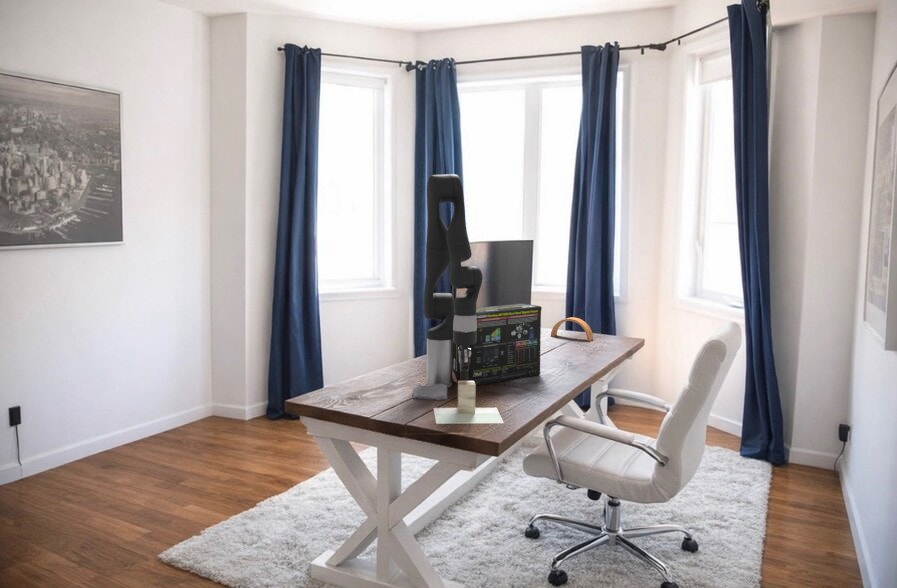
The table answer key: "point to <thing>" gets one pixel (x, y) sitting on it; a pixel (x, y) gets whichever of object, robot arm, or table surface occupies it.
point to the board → (467, 416)
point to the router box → (503, 344)
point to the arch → (577, 320)
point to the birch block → (466, 396)
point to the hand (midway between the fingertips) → (463, 381)
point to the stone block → (430, 392)
